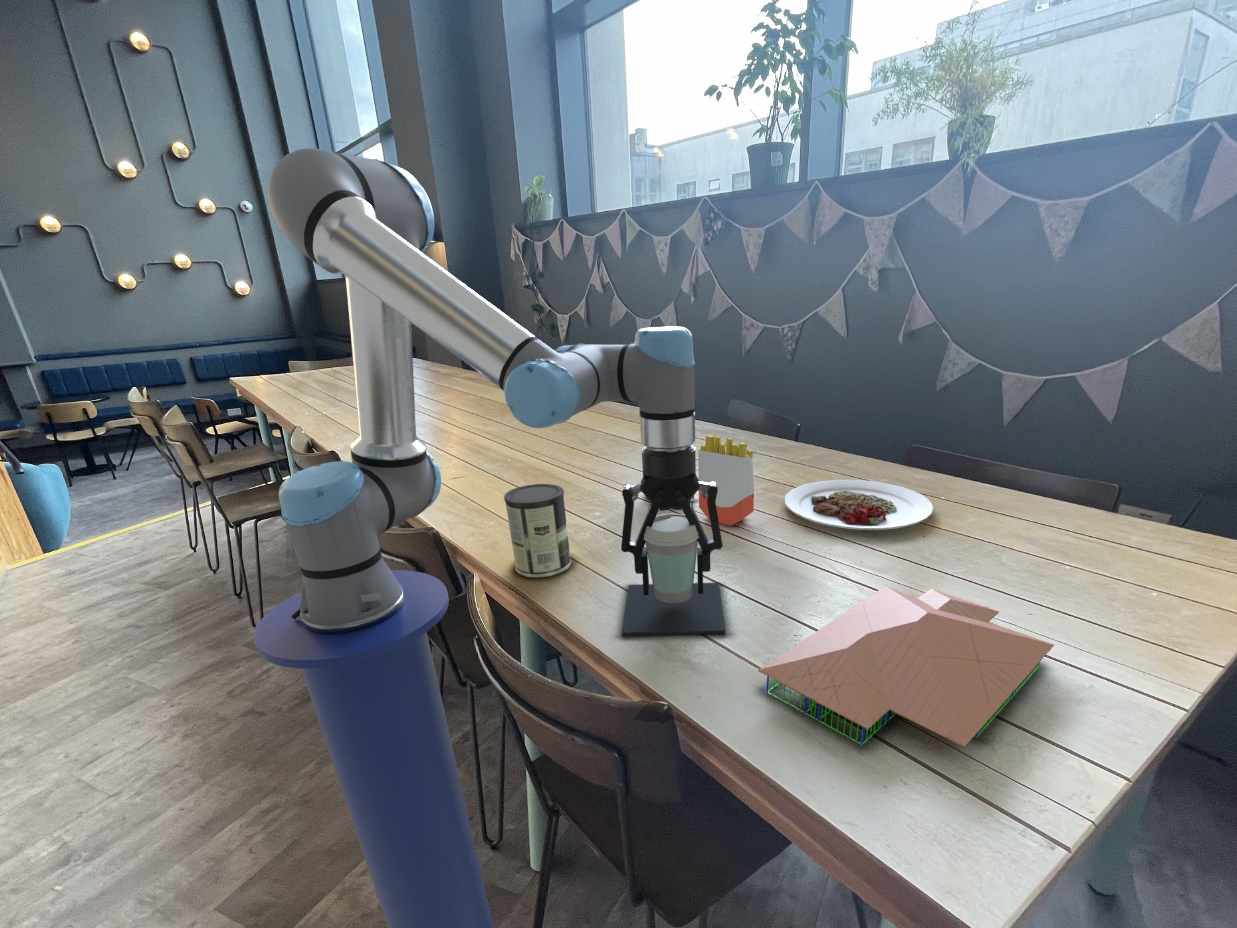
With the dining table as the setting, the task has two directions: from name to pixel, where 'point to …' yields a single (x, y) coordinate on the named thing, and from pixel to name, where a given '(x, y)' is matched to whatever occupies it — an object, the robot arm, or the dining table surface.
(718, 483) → the french fries container
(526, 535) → the coffee can
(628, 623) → the mat
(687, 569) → the coffee cup
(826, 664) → the house
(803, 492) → the plated food
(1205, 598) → the dining table surface
